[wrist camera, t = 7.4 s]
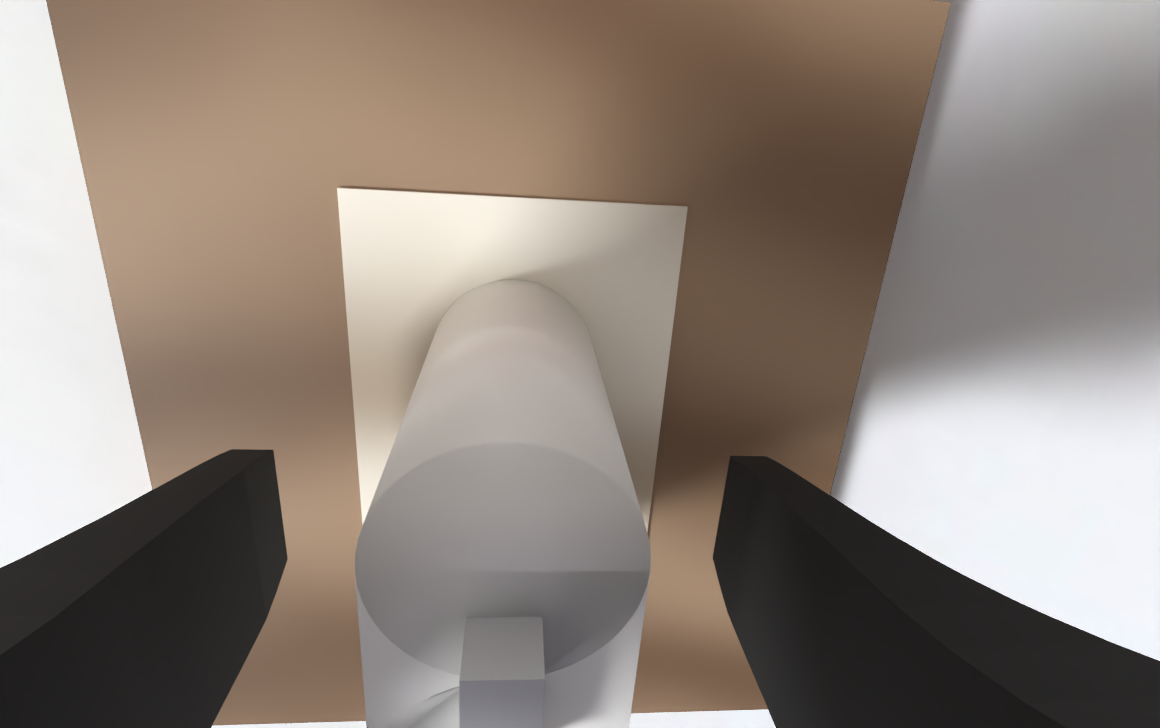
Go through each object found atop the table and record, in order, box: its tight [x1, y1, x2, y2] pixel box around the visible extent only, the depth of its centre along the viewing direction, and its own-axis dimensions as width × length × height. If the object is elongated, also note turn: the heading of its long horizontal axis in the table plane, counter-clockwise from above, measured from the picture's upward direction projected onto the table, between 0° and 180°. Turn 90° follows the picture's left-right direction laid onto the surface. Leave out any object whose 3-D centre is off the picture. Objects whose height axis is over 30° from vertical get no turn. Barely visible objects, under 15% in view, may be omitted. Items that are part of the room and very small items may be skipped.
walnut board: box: [46, 0, 951, 725], centre depth 13 cm, size 16×14×1 cm
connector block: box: [355, 280, 651, 728], centre depth 9 cm, size 6×3×7 cm, turn 176°
